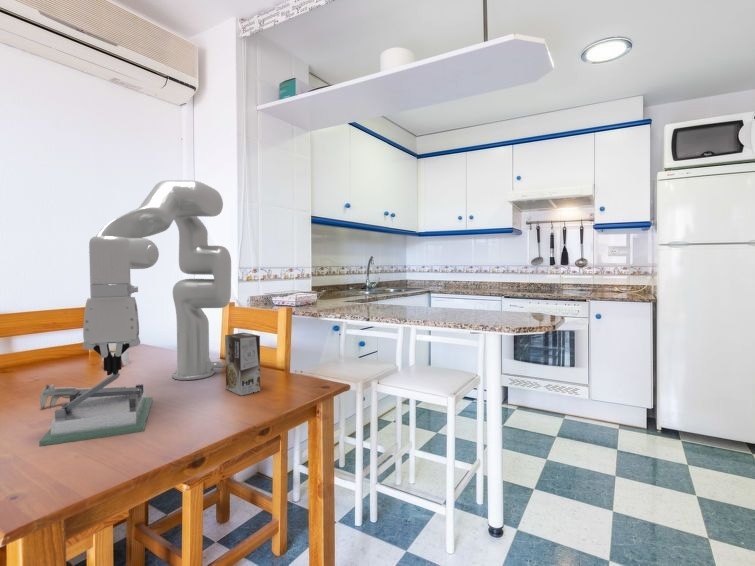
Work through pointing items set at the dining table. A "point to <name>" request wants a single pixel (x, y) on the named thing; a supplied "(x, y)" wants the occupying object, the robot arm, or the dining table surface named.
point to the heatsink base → (99, 417)
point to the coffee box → (242, 363)
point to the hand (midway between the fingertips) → (112, 373)
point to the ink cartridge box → (123, 357)
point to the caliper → (60, 393)
